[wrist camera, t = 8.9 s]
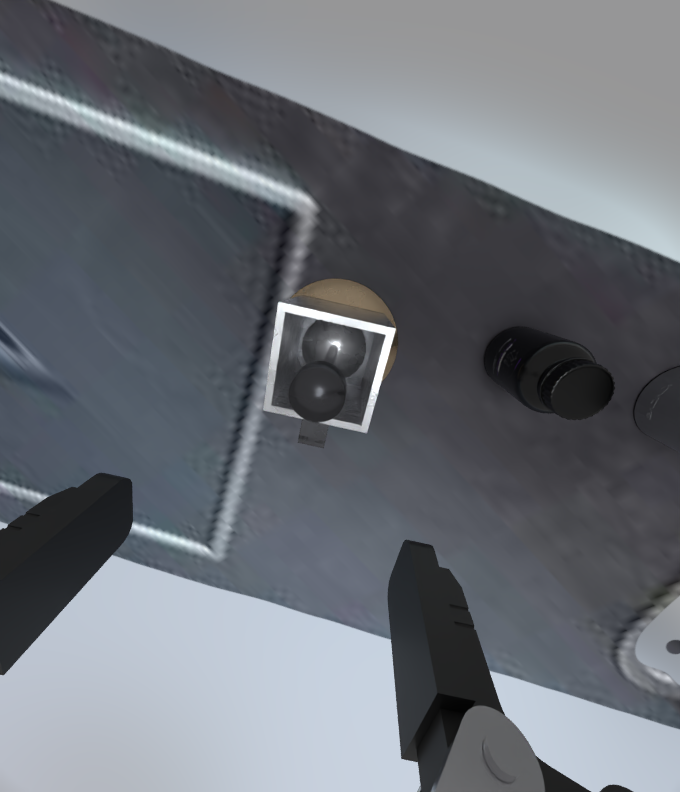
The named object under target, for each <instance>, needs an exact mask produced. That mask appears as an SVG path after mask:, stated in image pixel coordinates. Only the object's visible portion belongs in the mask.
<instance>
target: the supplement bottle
mask: <svg viewBox="0 0 680 792" xmlns="http://www.w3.org/2000/svg"><path fill="white" fill-rule="evenodd" d="M485 368H486V371H487V373H488V375H489V376H490V377H491V378H492V379H493V380H494V381H495V382H496V383H497V384H499V385H500V386H501V387H502V388H504V389H505V390H506V391H507V392H509V393H510V394H511V395H512V396H513V397H515V398H516V399H517V400H518V401H520V402H521V403H522V404H523V405H525V406H526V407H528V408H529V409H531V410H533V411H536V412H540V413H555V414H557V415H559V416H560V417H562V418H566V419H568V420H569V419H572V420H577V419H578V420H581V419H586V418H588V417H591V416H593V415H594V414H597V413H598V412H599V411H600V410H602V409H604V407H605V406H606V405H607V404H608V402H609V401H610V400H611V397H612V395H613V394H614V392H613V391H614V389H615V387H614V384H615V382H614V381H613V380H614V378H613V377H612V376H611V373H610V372H608V370H607V369H606V368H604V367H603V366H601V365H599V364H597V363H596V360H595V358H594V356H593V355H592V353H591V352H590V351H589V350H588V349H587V348H586V347H584V346H582V345H581V344H578V343H576V342H573V341H570V340H567V339H564V338H561V337H558V336H555V335H552V334H548V333H545V332H542V331H539V330H536V329H532V328H528V327H515V328H511V329H508V330H506V331H504V332H502V333H501V334H499V335H498V336H497V337H496V338H495V339H494V340H493V341H492V342H491V343H490V345H489V347H488V349H487V351H486V354H485Z"/></svg>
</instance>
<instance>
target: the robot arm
mask: <svg viewBox="0 0 680 792" xmlns="http://www.w3.org/2000/svg"><path fill="white" fill-rule="evenodd" d="M634 414H635V421H636V424H637V426H638V427H639V429H640V430H641V431H642V432H643V433H645V434H646V435H648V436H650V437H651V438H653V439H655V440H657V441H659V442H661V443H663V444H664V445H666V446H668V447H670V448H672V449H674V450H675V451H677V452H679V453H680V367H677V368H674V369H671V370H669V371H667V372H665V373H663V374H661V375H659V376H658V377H657V378H655V379H654V380H652V381H651V382H650V383H649V384H648V385H647V386H646V387H645V389H644V390H643V391H642V393H641V394H640V396H639V398H638V400H637V402H636V406H635V410H634ZM132 522H133V503H132V482H131V480H130V479H128V478H124V477H120V476H115V475H111V474H106V473H98V474H96V475H94V476H93V477H91V478H90V479H89V480H87V481H86V482H85V483H83V484H82V485H81V486H79V487H78V488H76V487H71V488H68V489H66V490H64V491H61V492H59V493H57V494H54V495H52V496H49V497H47V498H46V499H44V500H43V501H41V502H40V503H39V504H37V505H36V506H34V507H33V508H31V509H30V510H29V511H27V512H26V514H25V515H24V516H23V515H21V516H20V517H18V518H17V519H16V520H14V521H13V522H11V523H10V524H8V527H7V528H6V529H4V528H3V529H1V530H0V675H4V674H5V673H6V672H7V671H8V670H9V669H10V668H11V667H12V666H13V664H14V663H15V662H16V661H17V660H18V659H19V658H20V656H21V655H22V654H23V653H24V652H25V651H26V650H27V649H28V648H29V647H30V646H31V644H32V643H33V642H34V641H35V640H36V639H37V638H38V637H39V636H40V634H41V633H42V632H43V631H44V630H45V629H46V628H47V627H48V626H49V624H50V623H51V622H52V621H53V620H54V619H55V618H56V617H57V615H58V614H59V613H60V612H61V611H62V610H63V609H64V608H65V607H66V606H67V604H68V603H69V602H70V601H71V600H72V599H73V598H74V597H75V596H76V594H77V593H78V592H79V591H80V590H81V589H82V588H83V586H84V585H85V584H86V583H87V582H88V581H89V580H90V579H91V578H92V577H93V576H94V574H95V573H96V572H97V571H98V570H99V569H100V568H101V567H102V566H103V564H104V563H105V562H106V561H107V560H108V559H109V558H110V557H111V556H112V554H113V553H114V552H115V551H116V550H117V549H118V548H119V547H120V546H121V544H122V543H123V542H124V541H125V539H126V538H127V536H128V534H129V532H130V529H131V527H132ZM388 609H389V620H390V632H391V643H392V654H393V666H394V678H395V689H396V701H397V712H398V724H399V735H400V746H401V758H402V759H405V760H410V761H415V762H418V766H419V775H420V783H421V786H420V787H419V789H418V791H417V792H591V791H589V790H587V789H586V788H584V787H582V786H581V785H579V784H578V783H576V782H574V781H573V780H571V779H570V778H568V777H566V776H565V775H563V774H561V773H560V772H558V771H557V770H555V769H553V768H551V767H550V766H549V765H547V764H546V763H544V762H543V761H541V760H540V759H539V758H538V757H537V756H536V755H535V753H534V752H533V750H532V748H531V746H530V744H529V743H528V741H527V740H526V738H525V737H524V735H523V734H522V733H521V731H520V730H519V729H518V728H517V727H516V725H514V723H512V721H510V720H509V719H508V718H507V717H506V716H505V714H504V712H503V710H502V707H501V705H500V702H499V699H498V696H497V693H496V690H495V687H494V684H493V681H492V678H491V675H490V672H489V669H488V666H487V663H486V660H485V657H484V654H483V651H482V648H481V645H480V642H479V639H478V636H477V632H476V630H474V623H473V620H472V617H471V614H470V612H468V605H467V602H466V599H465V596H464V593H463V590H462V587H461V586H460V584H459V583H458V582H457V580H456V579H455V577H454V576H453V574H452V573H451V571H450V570H449V569H446V568H441V567H439V565H438V561H437V558H436V554H435V551H434V548H433V546H432V545H429V544H424V543H419V542H415V541H410V540H405V541H404V542H403V545H402V547H401V550H400V552H399V555H398V558H397V560H396V563H395V566H394V568H393V571H392V574H391V577H390V580H389V586H388ZM600 792H633V791H631V790H629V789H627V788H625V787H622V786H619V785H608V786H606V787H605V788H603V789H602V790H601V791H600Z"/></svg>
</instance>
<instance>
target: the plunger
mask: <svg viewBox="0 0 680 792" xmlns="http://www.w3.org/2000/svg"><path fill="white" fill-rule="evenodd" d="M302 354H303V358H304V360H305V362H306V365H305V366H303V367H302V368H301V369H300V370H299V372H298V373H297V375H296V376H295V378H294V379H293V381H292V383H291V385H290V387H289V393H288V394H289V401H290V404H291V406H292V408H293V410H294V411H295V412H296V413H297V414H298V415H299V416H300V417H302V418H303V419H305V420H308V421H311V422H325V421H328V420H331V419H333V418H334V417H336V416H337V415H338V414H339V413H340V411H341V410H342V408H343V406H344V403H345V396H346V380H345V378H347V377H349V376H351V375H352V374H354V373H355V372H356V371H357V370H358V369H359V368H360V366H361V365H362V363H363V361H364V358H365V354H366V342H365V338H364V335H363V333H362V331H361V330H360V329H358V328H354V327H350V326H345V325H341V324H337V323H332V322H328V321H323V320H317V321H315V322H314V323H313V324H312V325H311V326H310V327H309V328H308V330H307V331H306V333H305V335H304V337H303V341H302Z"/></svg>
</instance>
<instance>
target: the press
mask: <svg viewBox="0 0 680 792" xmlns="http://www.w3.org/2000/svg"><path fill="white" fill-rule="evenodd" d="M317 320H323V321H328V322H332V323H337V324H341V325H345V326H350V327H354V328H358V329H360V330H361V331H362V333H363V335H364V338H365V342H366V354H365V358H364V361H363V363H362V365H361V366H360V368H359V369H358V370H357V371H356V372H355V373H354V374H352V375H351V376H349V377H347V378H345V380H346V396H345V403H344V406H343V408H342V410H341V411H340V413H339V414H338V415H337V416H336V417H334V418H333V419H331V420H328V421H325V422H311V421H308V420H305V419H303V418H302V417H300V416H299V415H298V414H297V413H296V412H295V411H294V410H293V408H292V406H291V404H290V401H289V394H288V393H289V387H290V385H291V383H292V381H293V379H294V378H295V376H296V375H297V373H298V372H299V370H300V369H301V368H302V367H303V366H305V365H306V362H305V360H304V358H303V354H302V341H303V337H304V335H305V333H306V331H307V330H308V328H309V327H310V326H311V325H312V324H313V323H314V322H315V321H317ZM397 345H398V337H397V330H396V325H395V322H394V319H393V316H392V314H391V312H390V310H389V309H388V307H387V306H386V304H385V303H384V302H383V301H382V299H381V298H380V297H379V296H378V295H376V294H375V293H374V292H373V291H372V290H370V289H369V288H367V287H365V286H363V285H361V284H359V283H357V282H353V281H350V280H345V279H326V280H321V281H317V282H314V283H312V284H309V285H307V286H305V287H304V288H302V289H300V290H299V291H298V292H297V293H295V294H294V295H293V296H292V297H291V298H290V299H287V300H283V301H280V302H278V309H277V316H276V323H275V330H274V337H273V344H272V351H271V358H270V365H269V372H268V379H267V386H266V393H265V400H264V407H263V410H264V411H269V412H273V413H278V414H282V415H287V416H291V417H296V418H300V419H302V423H301V428H300V434H299V439H298V443H302V444H307V445H311V446H316V447H320V448H324V444H325V440H326V435H327V431H328V427H329V425H332V426H337V427H341V428H346V429H350V430H355V431H359V432H364V433H367V431H368V427H369V424H370V420H371V417H372V413H373V409H374V406H375V402H376V399H377V395H378V391H379V388H380V384H381V382H382V381H383V380H384V379H385V378H386V376H387V375H388V373H389V372H390V370H391V368H392V366H393V363H394V361H395V358H396V353H397Z"/></svg>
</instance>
